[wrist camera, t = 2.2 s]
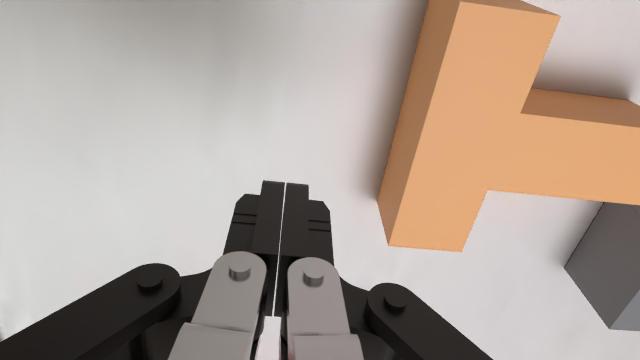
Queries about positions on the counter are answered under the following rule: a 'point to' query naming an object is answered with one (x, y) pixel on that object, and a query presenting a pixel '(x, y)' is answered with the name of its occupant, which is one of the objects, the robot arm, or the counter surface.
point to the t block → (496, 127)
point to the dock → (611, 265)
